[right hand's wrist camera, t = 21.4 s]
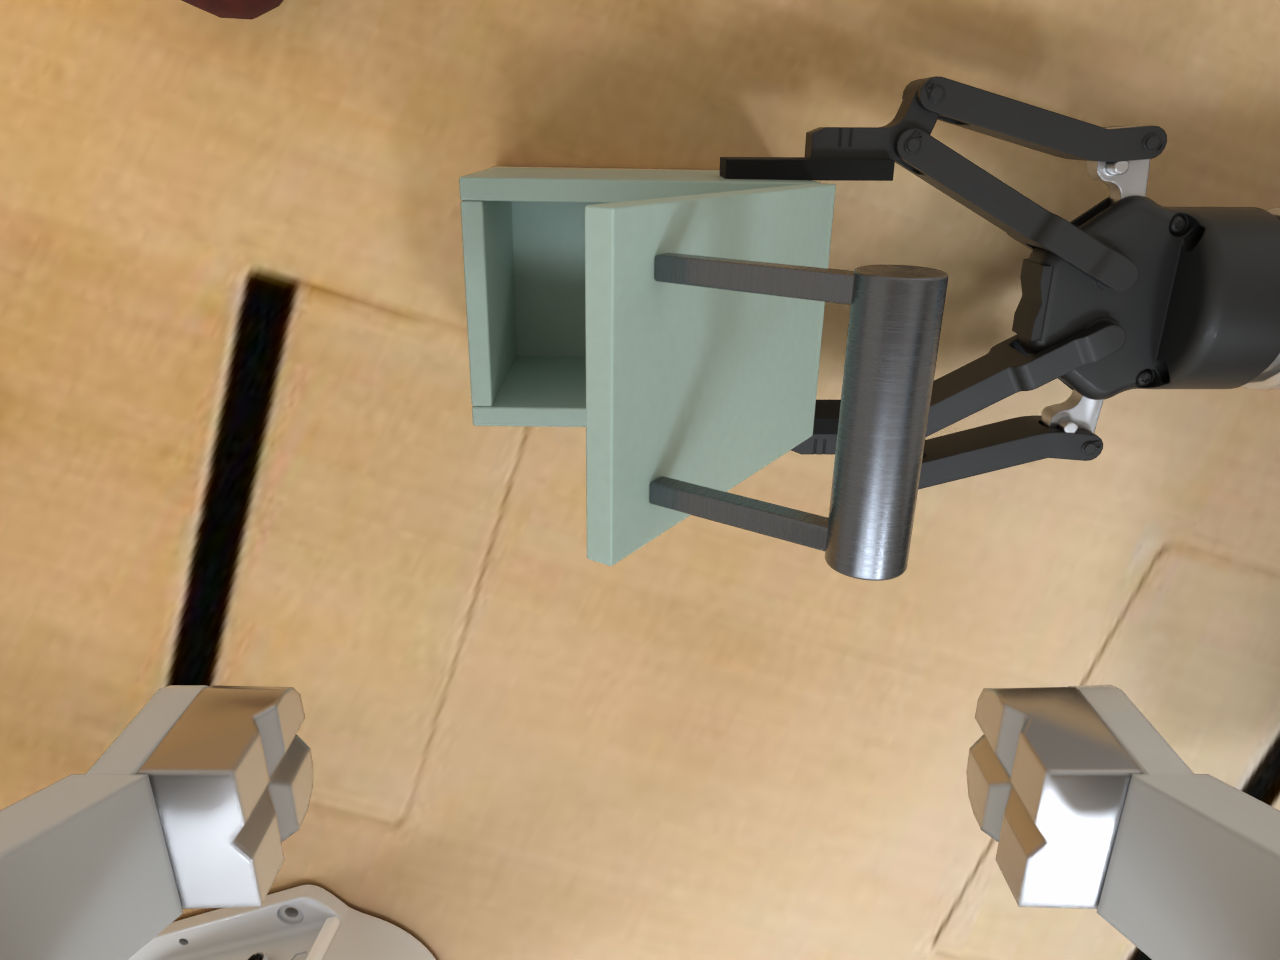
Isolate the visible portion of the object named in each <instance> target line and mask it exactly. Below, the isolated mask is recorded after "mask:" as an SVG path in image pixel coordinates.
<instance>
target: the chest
mask: <svg viewBox="0 0 1280 960" xmlns="http://www.w3.org/2000/svg"><path fill="white" fill-rule="evenodd" d="M812 183H819V182H816V181H812V180H754V179H725V178H723V177H721V176H720V170H687V169H627V168H567V167H508V166H494V167H492V168H490V169H486V170H483V171H479V172H476V173H473V174H469V175H466V176H462V177H460V178H459V184H460V199H461V200H463V201H461V219H462V237H463V255H464V273H465V291H466V309H467V327H468V344H469V362H470V380H471V398H472V405H473V407H472V416H473V425H475V426H546V427H586V319H585V206H587V205H594V204H604V203H615V202H625V201H636V200H646V199H656V198H667V197H677V196H688V195H698V194H708V193H719V192H729V191H739V190H750V189H760V188H771V187H781V186H791V185H802V184H812ZM820 184H821V183H820Z"/></svg>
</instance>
